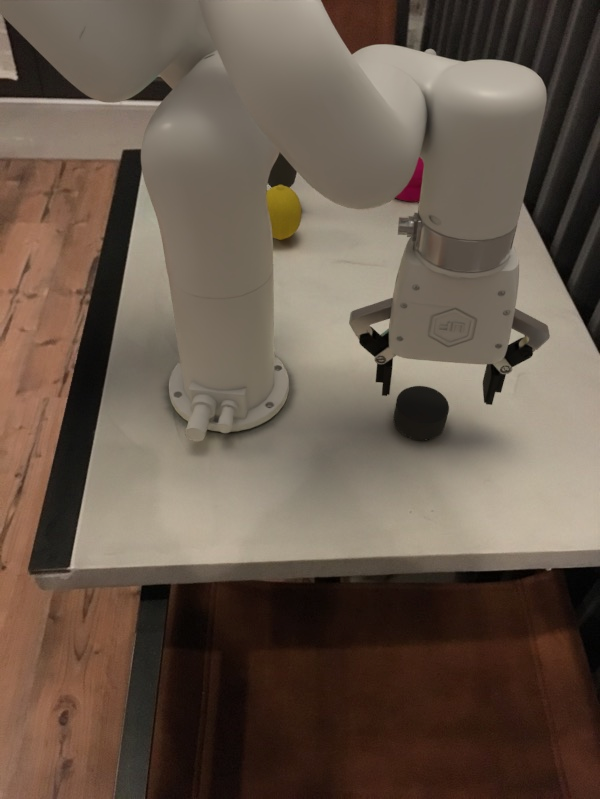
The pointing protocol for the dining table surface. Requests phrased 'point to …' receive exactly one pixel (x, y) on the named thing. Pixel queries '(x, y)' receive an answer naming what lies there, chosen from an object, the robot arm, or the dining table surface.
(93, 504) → the dining table surface
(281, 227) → the lemon
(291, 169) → the sundae
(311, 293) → the dining table surface
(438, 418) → the puck
